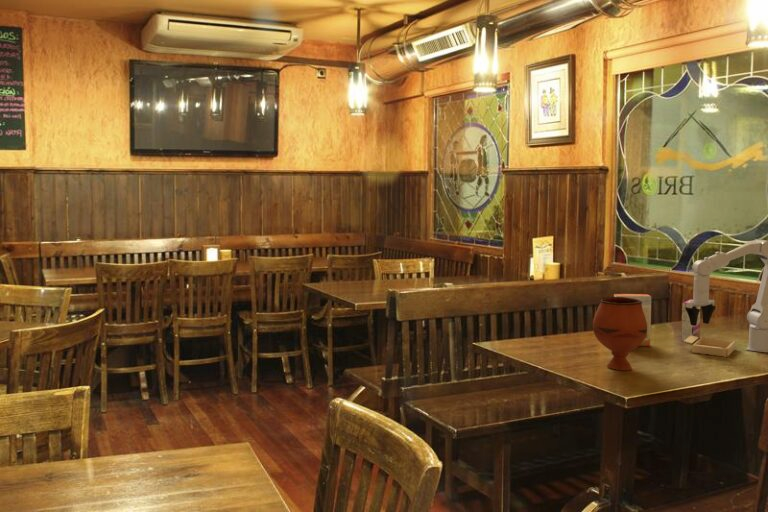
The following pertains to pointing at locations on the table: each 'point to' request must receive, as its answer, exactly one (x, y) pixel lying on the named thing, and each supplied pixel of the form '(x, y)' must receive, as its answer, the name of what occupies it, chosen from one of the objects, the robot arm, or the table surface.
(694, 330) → the candy bar box
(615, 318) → the goblet
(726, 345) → the carton
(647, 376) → the table surface
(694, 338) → the flap
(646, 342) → the cracker box
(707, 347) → the flap
